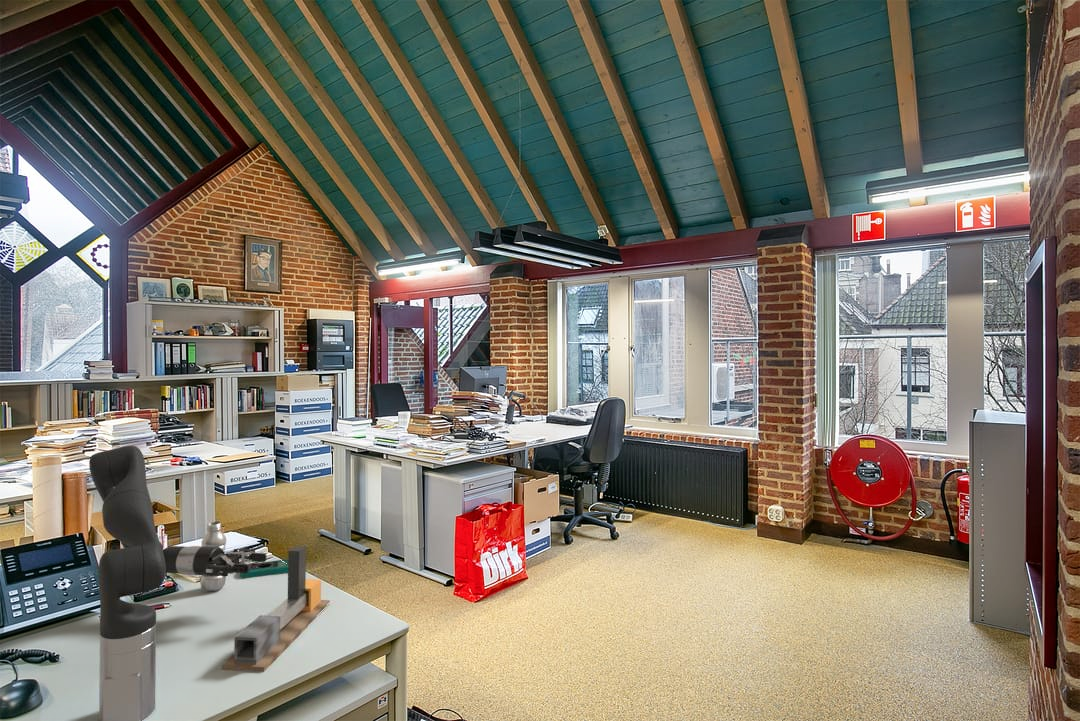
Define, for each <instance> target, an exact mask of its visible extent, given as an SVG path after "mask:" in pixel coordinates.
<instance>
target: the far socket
mask: <svg viewBox="0 0 1080 721" xmlns="http://www.w3.org/2000/svg"><path fill="white" fill-rule="evenodd" d="M305 591H309V603H308V604H307V605H306V606H305V607H304V608H303V609H302V610H301V611H310V612H311V611H312V610H313V609H314V608H315V607H316V606H317V605H318V604H319V603H320V602H321V600H322V579H314V578H313V579H312V578H306V584H305Z"/></svg>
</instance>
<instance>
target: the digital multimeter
mask: <svg viewBox="0 0 1080 721" xmlns="http://www.w3.org/2000/svg"><path fill="white" fill-rule="evenodd" d="M281 560H282V561H284V562H285V563H284V562H282V561H281ZM286 563H287V564H286ZM248 564H249V565H250V571H249V572H248V573H239V576H240V578H241V579H249V578H250V579H251V578H256V577H263V576H271V575H272V576H273V575H282V574H288V558H283V559H277V560H271V561H265V562H253V563H248Z"/></svg>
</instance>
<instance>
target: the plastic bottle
mask: <svg viewBox="0 0 1080 721" xmlns="http://www.w3.org/2000/svg"><path fill="white" fill-rule="evenodd" d="M221 530H222V522H220V521H213V522H208V523H207V524H206V534H205V535H204V536H203V538H202V539H201V546H208V547H220V548H221V549H222V550H223V552H224V553H225V550H226V545H227V537H226V535H225V534H224V532H222V531H221ZM220 572H221V571H220ZM221 573H223V572H221ZM226 577H227V576H226ZM226 577H224V576H203V575H201V577H200V582H199V583H200V588H201V589H202V590H203V591H204V592H215V591H219V590H221V589H222V588H224V586H225V585H226V580H227V579H226Z"/></svg>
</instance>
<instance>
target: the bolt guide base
mask: <svg viewBox="0 0 1080 721" xmlns="http://www.w3.org/2000/svg"><path fill="white" fill-rule="evenodd" d="M329 602H331V601H330V600H328V599H321V602H320V603H319V604H318V605H317V606H316V607H315V608H314V609H313V610H312V611H311V612H310V611H300V612H299V613H298V614H297V615H296V616H295V617H294V618H292V619H291V620H290V621H289V622H288V623H287V624H286V625H285V626H284V627H283V628H282V629H281V630H280V616H268V615H259V616H258V617H256V618H255V619H254V620H253V621H252V622H250V623H249V624H248V625H247V626H246V627H244V628H243V629H242V630H240V632H238V633H237V634H236V635H235V636H234V640H233V641H234V642H233V643H234V647H233V648H234V649H233V650H234V652H233V654H232V655H231V656H230V657H229V658H228V659H226V660H225V661H224V662H223V663H222V664H221V669H220V670H227V671H243V672H247V671H248V672H262V673H264V672H265V671H267V669H269V667H271V665H273V663H274V662H275V661H276V660H277V659H278V658H279V657H280V656H281V655H282V654H283V653H284V652H285V651H286V649H288V647H290V645H291V644H292V643H294V642H295V641H296V640H297V638H298V637H299V636H301V634H302V633H303V632H304V631H305V630H306V629H307V628H309V626H310V625H311V624H312V623H313V622H314V621H315V620H316V619H317V618H318V617H317V615H318V614H319V613H320V612H321V611H322V610H323V609H324V608H325V607H326V606H327V604H328V603H329ZM327 607H328V606H327ZM327 607H326V608H327ZM326 608H325V609H326ZM325 609H324V610H325ZM324 610H323V611H324ZM323 611H322V612H323ZM322 612H321V613H322ZM321 613H320V614H321ZM320 614H319V615H320ZM319 615H318V616H319ZM316 617H317V618H316ZM315 618H316V619H315ZM314 619H315V620H314ZM313 620H314V621H313ZM312 621H313V622H312ZM311 622H312V623H311ZM310 623H311V624H310ZM309 624H310V625H309ZM308 625H309V626H308Z"/></svg>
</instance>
